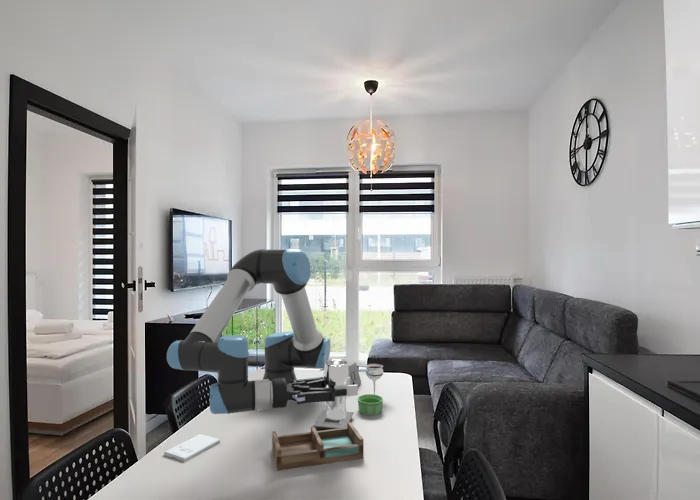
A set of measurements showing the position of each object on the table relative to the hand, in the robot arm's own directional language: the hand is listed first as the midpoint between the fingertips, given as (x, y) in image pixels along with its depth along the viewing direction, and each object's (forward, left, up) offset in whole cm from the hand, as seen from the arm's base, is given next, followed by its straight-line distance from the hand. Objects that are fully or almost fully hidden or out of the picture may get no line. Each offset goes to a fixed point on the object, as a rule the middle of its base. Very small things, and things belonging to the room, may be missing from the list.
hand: (353, 385), depth 115 cm
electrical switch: (-52, +15, -18) cm, 57 cm away
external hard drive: (-13, -43, -18) cm, 49 cm away
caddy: (0, -11, -18) cm, 20 cm away
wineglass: (-37, +20, -18) cm, 46 cm away
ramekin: (-25, +14, -18) cm, 34 cm away
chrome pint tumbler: (0, -5, -8) cm, 10 cm away
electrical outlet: (-18, -1, -18) cm, 26 cm away
